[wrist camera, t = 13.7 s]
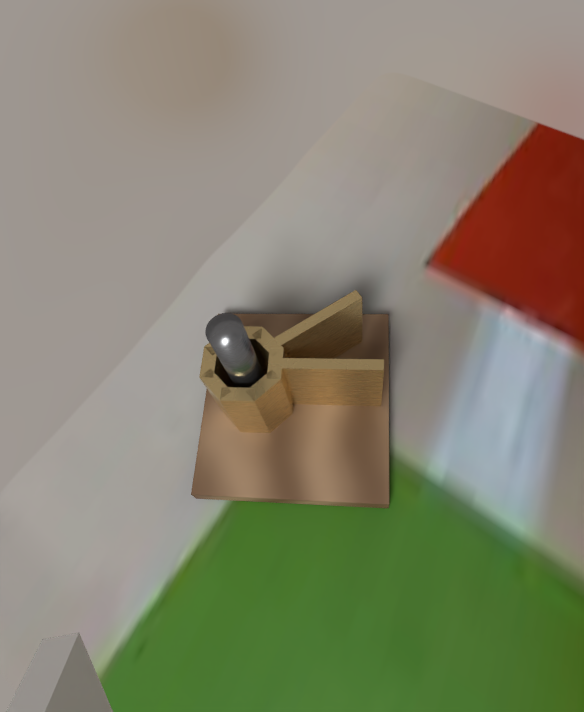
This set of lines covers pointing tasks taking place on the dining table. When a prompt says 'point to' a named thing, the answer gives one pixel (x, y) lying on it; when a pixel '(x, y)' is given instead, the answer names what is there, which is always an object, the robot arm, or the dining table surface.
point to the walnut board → (302, 441)
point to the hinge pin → (234, 349)
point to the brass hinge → (299, 369)
